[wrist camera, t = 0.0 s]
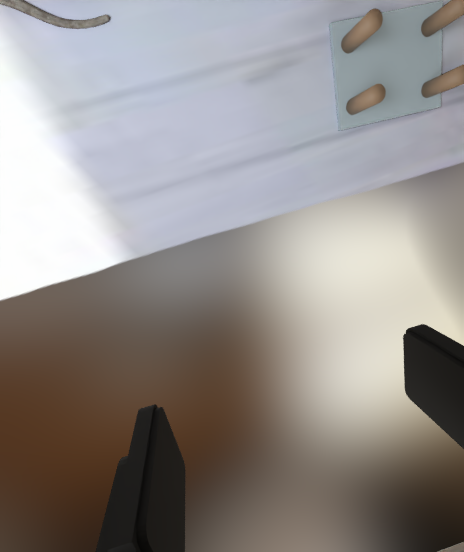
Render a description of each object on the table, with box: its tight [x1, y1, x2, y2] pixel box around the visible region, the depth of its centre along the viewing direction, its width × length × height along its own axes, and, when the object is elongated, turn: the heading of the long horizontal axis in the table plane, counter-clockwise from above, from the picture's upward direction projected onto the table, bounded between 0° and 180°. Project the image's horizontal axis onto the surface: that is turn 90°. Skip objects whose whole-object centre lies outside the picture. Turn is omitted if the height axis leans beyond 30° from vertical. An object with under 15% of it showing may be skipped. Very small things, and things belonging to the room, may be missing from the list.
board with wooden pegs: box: [329, 0, 464, 131], centre depth 34 cm, size 12×15×6 cm
